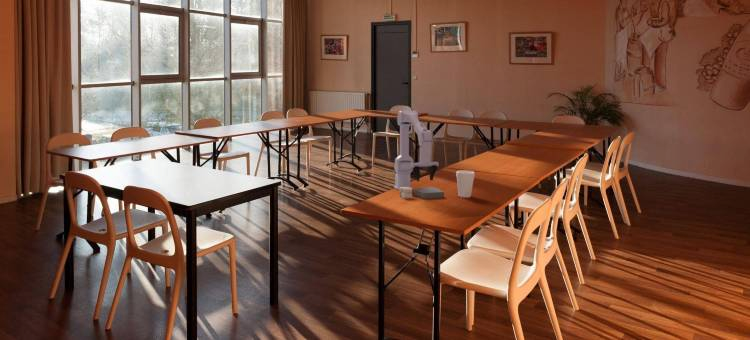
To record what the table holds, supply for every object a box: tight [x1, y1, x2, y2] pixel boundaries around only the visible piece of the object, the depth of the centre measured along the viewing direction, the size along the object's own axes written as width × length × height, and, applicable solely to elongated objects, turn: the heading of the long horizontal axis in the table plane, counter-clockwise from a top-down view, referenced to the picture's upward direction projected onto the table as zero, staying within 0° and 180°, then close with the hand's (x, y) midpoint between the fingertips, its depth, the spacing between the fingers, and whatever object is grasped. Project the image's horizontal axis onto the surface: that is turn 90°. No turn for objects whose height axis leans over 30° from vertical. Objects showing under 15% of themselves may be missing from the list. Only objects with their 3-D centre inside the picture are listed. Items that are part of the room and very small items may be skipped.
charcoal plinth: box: [413, 186, 445, 200], centre depth 352 cm, size 12×12×3 cm
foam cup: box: [455, 169, 476, 198], centre depth 351 cm, size 10×9×13 cm
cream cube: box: [399, 186, 413, 199], centre depth 348 cm, size 5×5×5 cm
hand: (424, 180), depth 341 cm, fingers open, 7 cm apart
